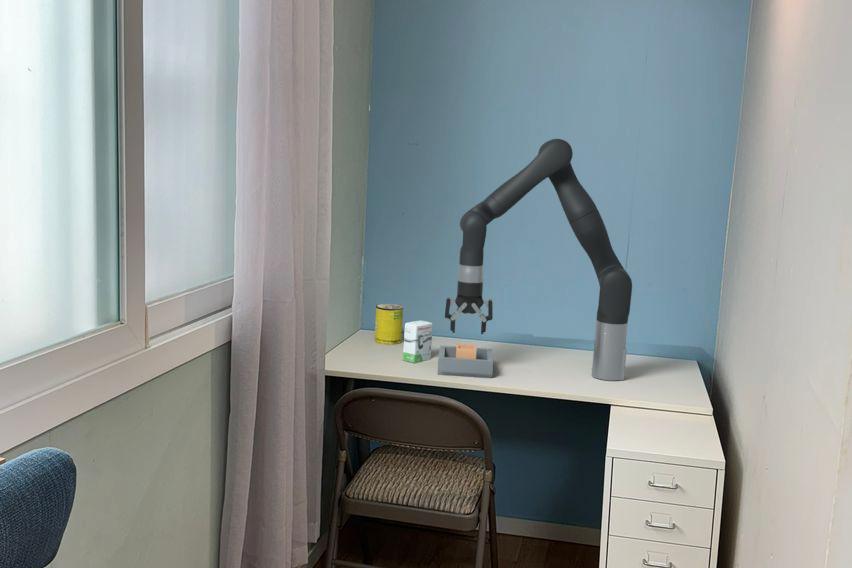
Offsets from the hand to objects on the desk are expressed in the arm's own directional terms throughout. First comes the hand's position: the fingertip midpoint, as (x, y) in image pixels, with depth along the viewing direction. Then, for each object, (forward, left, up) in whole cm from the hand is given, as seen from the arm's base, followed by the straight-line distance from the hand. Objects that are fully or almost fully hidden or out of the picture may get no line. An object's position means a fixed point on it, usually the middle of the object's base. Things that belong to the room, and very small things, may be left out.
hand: (467, 333), depth 268 cm
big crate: (0, 0, -11) cm, 11 cm away
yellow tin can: (+26, -30, -12) cm, 42 cm away
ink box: (+15, -8, -12) cm, 21 cm away
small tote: (0, 0, -10) cm, 10 cm away
